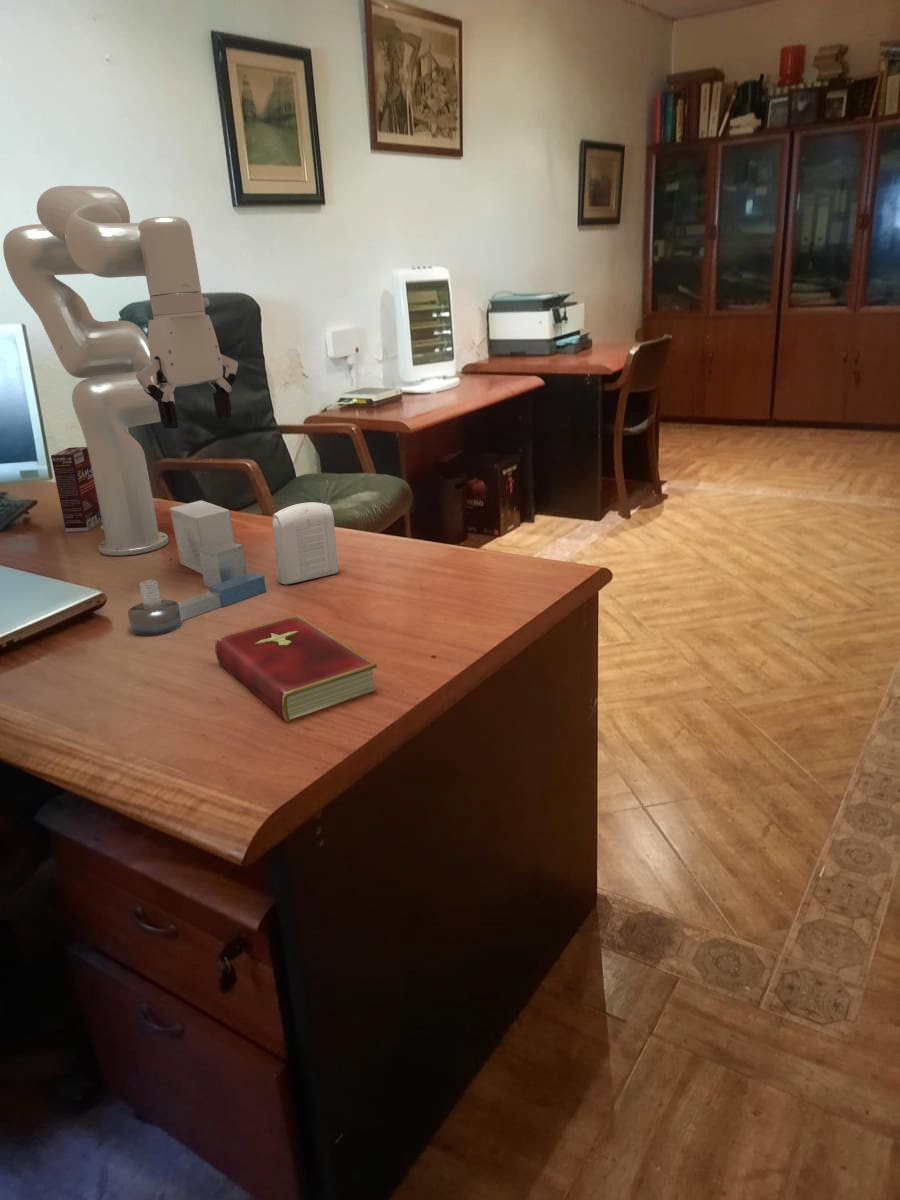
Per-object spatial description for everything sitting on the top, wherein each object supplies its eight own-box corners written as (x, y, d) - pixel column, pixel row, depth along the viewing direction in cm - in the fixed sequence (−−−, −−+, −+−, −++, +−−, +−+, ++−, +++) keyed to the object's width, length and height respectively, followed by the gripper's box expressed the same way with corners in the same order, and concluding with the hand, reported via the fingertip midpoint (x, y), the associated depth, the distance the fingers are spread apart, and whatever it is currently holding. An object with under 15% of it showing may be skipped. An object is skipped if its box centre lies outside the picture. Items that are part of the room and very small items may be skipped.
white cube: (204, 585, 144) (198, 548, 141) (230, 577, 147) (224, 540, 145) (222, 591, 140) (216, 553, 138) (248, 582, 144) (242, 545, 142)
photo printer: (331, 567, 149) (324, 496, 145) (343, 573, 146) (335, 500, 141) (274, 581, 144) (265, 507, 140) (285, 587, 141) (276, 512, 136)
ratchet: (121, 629, 127) (113, 584, 125) (246, 585, 143) (241, 545, 140) (147, 639, 123) (139, 594, 121) (273, 593, 138) (268, 552, 136)
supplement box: (88, 531, 179) (72, 454, 174) (65, 533, 179) (48, 455, 174) (104, 520, 187) (90, 446, 182) (82, 521, 187) (67, 447, 182)
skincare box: (178, 564, 155) (168, 506, 152) (211, 555, 159) (202, 499, 156) (205, 577, 148) (195, 516, 144) (239, 567, 152) (231, 508, 148)
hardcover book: (286, 726, 98) (281, 692, 97) (217, 666, 115) (212, 636, 113) (379, 694, 104) (376, 662, 103) (301, 641, 121) (298, 612, 119)
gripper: (212, 305, 140) (230, 414, 146) (112, 313, 128) (135, 431, 134) (240, 302, 135) (258, 415, 141) (139, 309, 123) (162, 432, 129)
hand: (198, 422), depth 137 cm, fingers open, 9 cm apart
